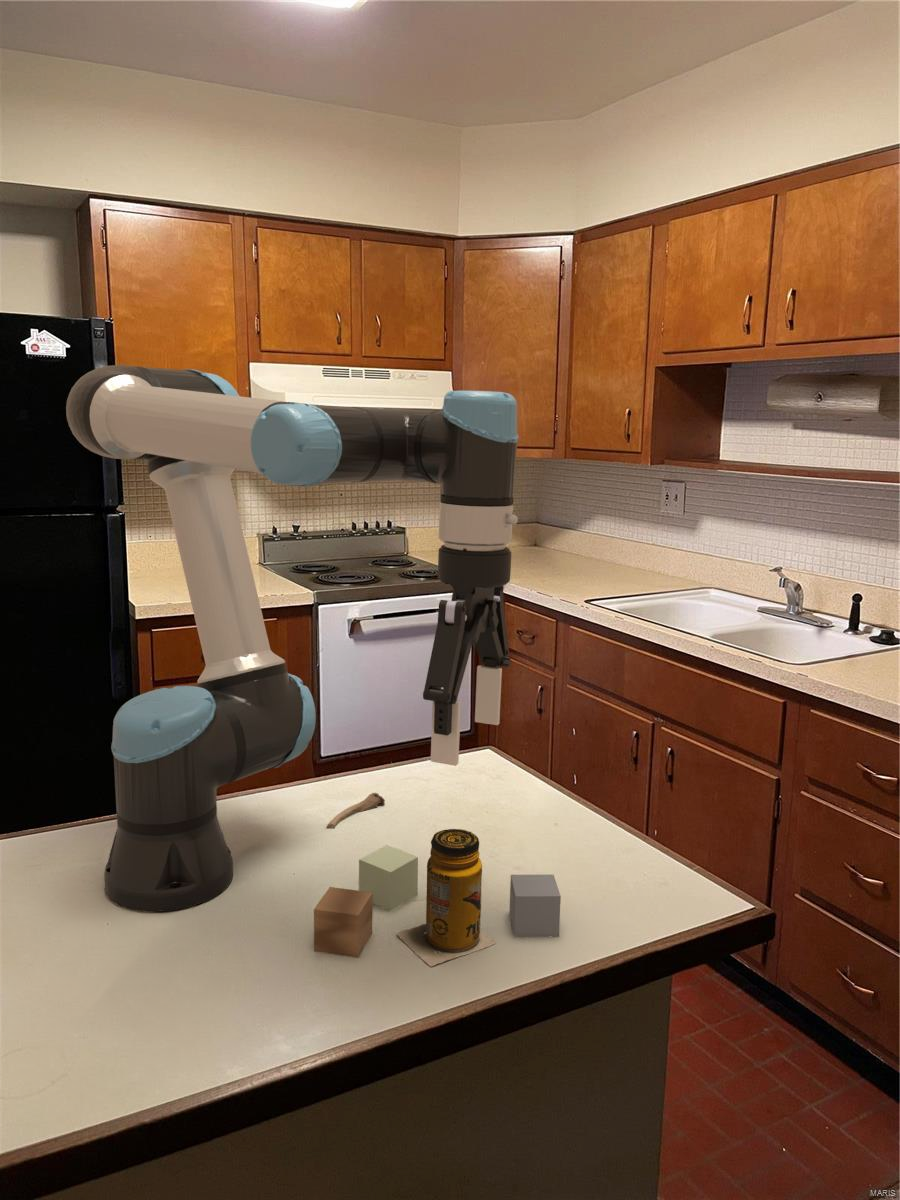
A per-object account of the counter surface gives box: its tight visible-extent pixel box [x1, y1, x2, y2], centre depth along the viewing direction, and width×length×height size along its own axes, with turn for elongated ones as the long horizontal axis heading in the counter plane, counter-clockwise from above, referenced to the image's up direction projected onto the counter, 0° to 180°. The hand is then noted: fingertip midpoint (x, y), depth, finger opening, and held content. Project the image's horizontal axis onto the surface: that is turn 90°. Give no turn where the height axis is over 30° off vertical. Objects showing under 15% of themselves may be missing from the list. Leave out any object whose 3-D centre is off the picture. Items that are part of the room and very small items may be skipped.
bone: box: [326, 792, 386, 830], centre depth 132 cm, size 3×11×2 cm, turn 142°
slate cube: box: [508, 874, 562, 938], centre depth 103 cm, size 5×5×5 cm
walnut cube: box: [313, 886, 374, 959], centre depth 99 cm, size 5×5×5 cm
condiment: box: [395, 828, 496, 967], centre depth 99 cm, size 7×8×12 cm
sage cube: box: [358, 844, 419, 912], centre depth 109 cm, size 5×5×5 cm
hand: (467, 741), depth 97 cm, fingers open, 13 cm apart
